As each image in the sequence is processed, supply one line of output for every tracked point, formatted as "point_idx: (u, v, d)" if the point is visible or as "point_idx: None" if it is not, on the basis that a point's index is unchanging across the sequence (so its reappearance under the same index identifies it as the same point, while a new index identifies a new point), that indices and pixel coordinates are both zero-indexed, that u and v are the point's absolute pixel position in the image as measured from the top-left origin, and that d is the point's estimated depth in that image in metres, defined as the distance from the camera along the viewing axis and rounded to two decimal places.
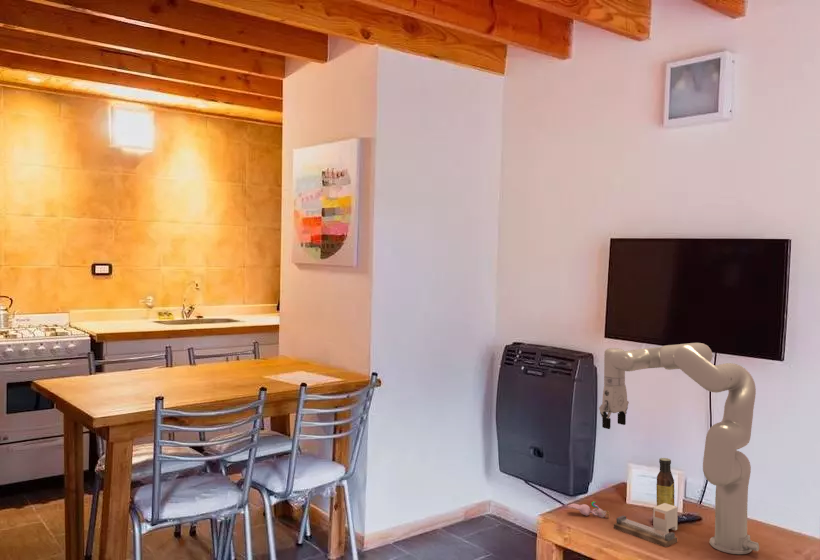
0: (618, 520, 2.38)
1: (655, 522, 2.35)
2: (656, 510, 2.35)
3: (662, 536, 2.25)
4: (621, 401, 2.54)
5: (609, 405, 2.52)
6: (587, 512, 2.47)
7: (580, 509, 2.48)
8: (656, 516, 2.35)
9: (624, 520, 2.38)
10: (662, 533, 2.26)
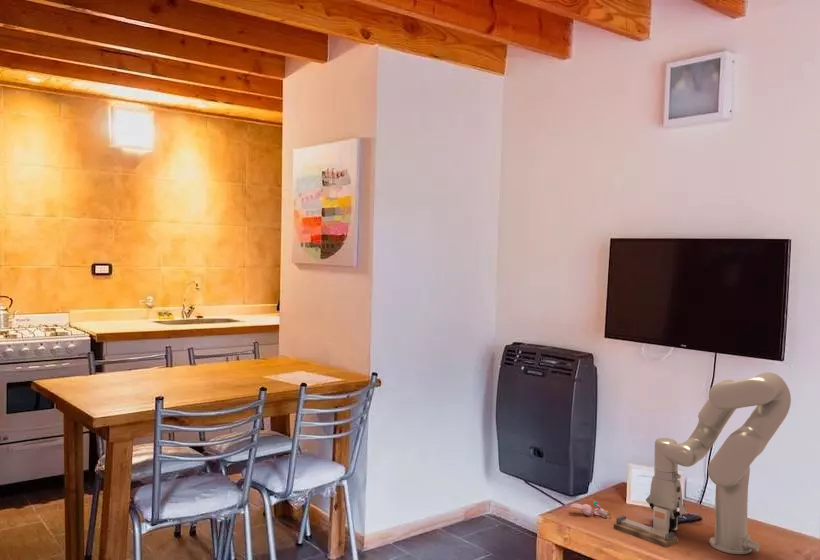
0: (618, 520, 2.38)
1: (655, 522, 2.35)
2: (656, 509, 2.35)
3: (662, 536, 2.25)
4: None
5: None
6: (589, 512, 2.47)
7: (582, 509, 2.48)
8: (656, 516, 2.35)
9: (624, 520, 2.38)
10: (662, 533, 2.26)
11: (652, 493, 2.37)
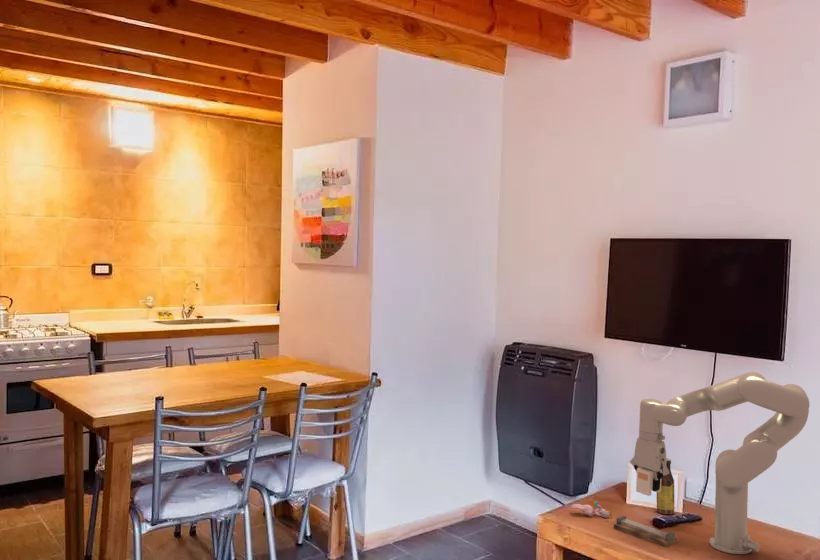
0: (618, 520, 2.38)
1: (638, 483, 2.32)
2: (639, 471, 2.32)
3: (662, 536, 2.25)
4: None
5: None
6: (590, 512, 2.47)
7: (583, 509, 2.48)
8: (639, 477, 2.31)
9: (624, 520, 2.38)
10: (662, 533, 2.26)
11: (636, 454, 2.34)
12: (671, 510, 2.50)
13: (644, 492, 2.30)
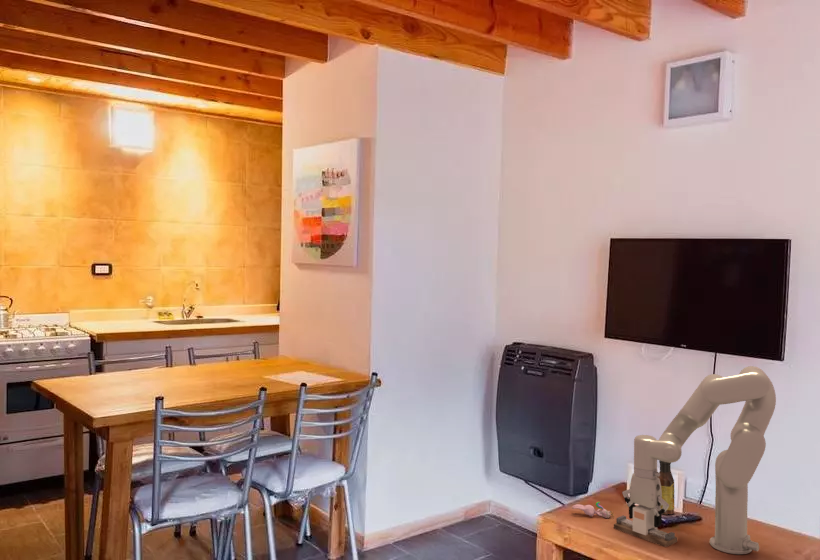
0: (618, 520, 2.38)
1: (634, 523, 2.31)
2: (635, 510, 2.30)
3: (662, 536, 2.25)
4: None
5: None
6: (592, 513, 2.47)
7: (585, 510, 2.48)
8: (635, 516, 2.30)
9: (624, 520, 2.38)
10: (662, 533, 2.26)
11: (631, 491, 2.33)
12: (671, 510, 2.50)
13: (641, 531, 2.29)
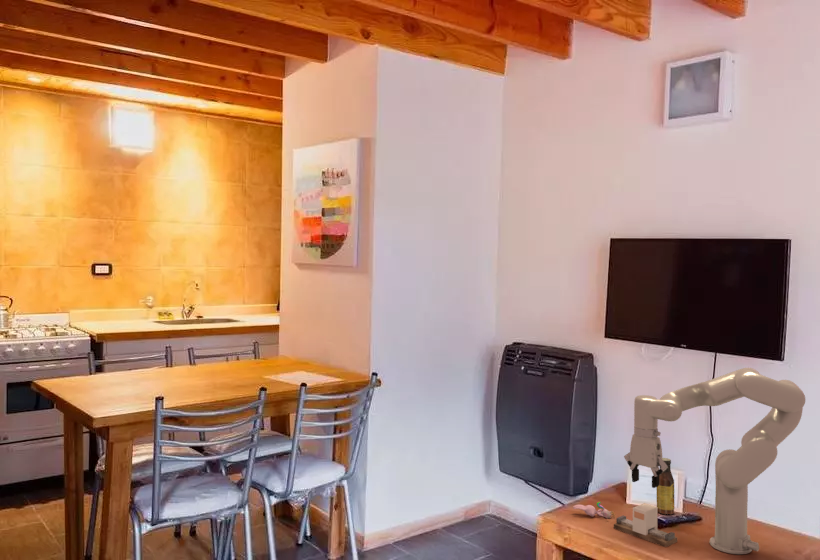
0: (618, 520, 2.38)
1: (634, 523, 2.31)
2: (635, 510, 2.30)
3: (662, 536, 2.25)
4: None
5: None
6: (593, 513, 2.46)
7: (586, 510, 2.47)
8: (635, 516, 2.30)
9: (624, 520, 2.38)
10: (662, 533, 2.26)
11: (632, 452, 2.32)
12: (671, 510, 2.50)
13: (641, 531, 2.29)
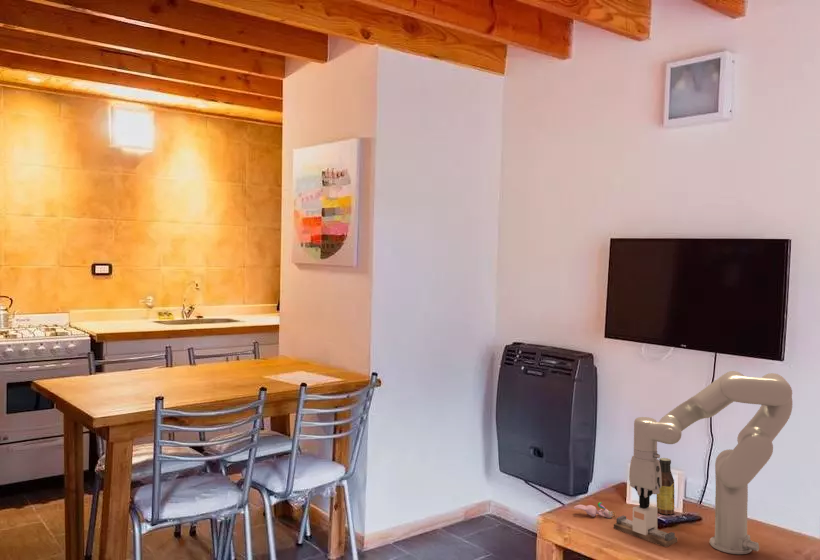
0: (618, 520, 2.38)
1: (634, 523, 2.31)
2: (635, 510, 2.30)
3: (662, 536, 2.25)
4: None
5: None
6: (594, 513, 2.46)
7: (587, 510, 2.47)
8: (635, 516, 2.30)
9: (624, 520, 2.38)
10: (662, 533, 2.26)
11: (631, 473, 2.33)
12: (671, 510, 2.50)
13: (641, 531, 2.29)
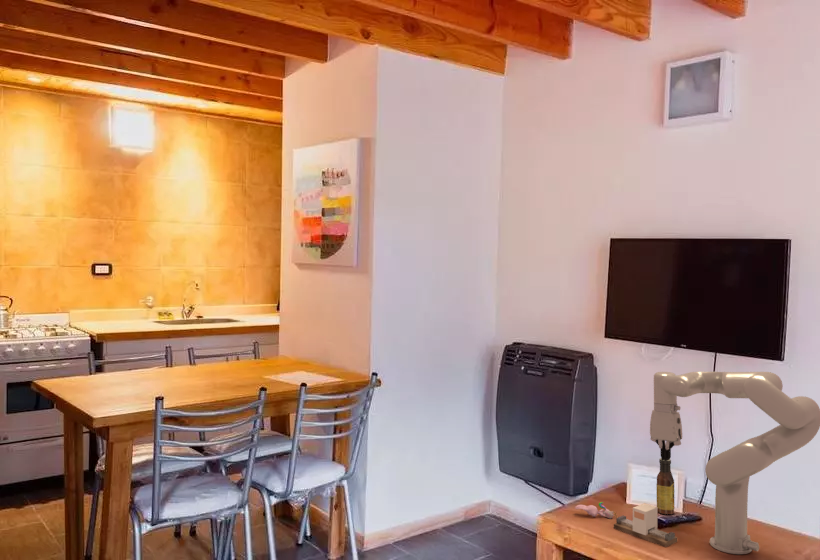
0: (618, 520, 2.38)
1: (634, 523, 2.31)
2: (635, 510, 2.30)
3: (662, 536, 2.25)
4: None
5: None
6: (595, 513, 2.46)
7: (588, 510, 2.47)
8: (635, 516, 2.30)
9: (624, 520, 2.38)
10: (662, 533, 2.26)
11: (652, 427, 2.38)
12: (671, 510, 2.50)
13: (641, 531, 2.29)
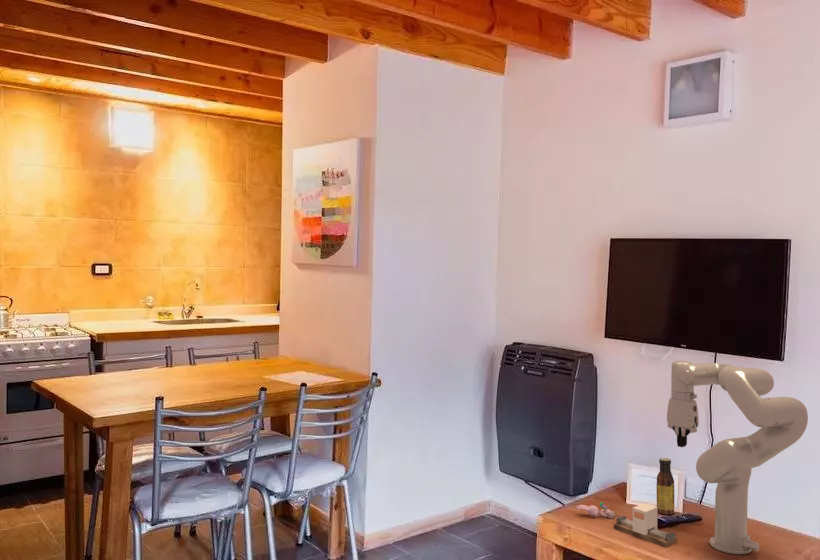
0: (618, 520, 2.38)
1: (634, 523, 2.31)
2: (635, 510, 2.30)
3: (662, 536, 2.25)
4: None
5: None
6: (596, 513, 2.46)
7: (589, 510, 2.47)
8: (635, 516, 2.30)
9: (624, 520, 2.38)
10: (662, 533, 2.26)
11: (669, 414, 2.45)
12: (671, 510, 2.50)
13: (641, 531, 2.29)
